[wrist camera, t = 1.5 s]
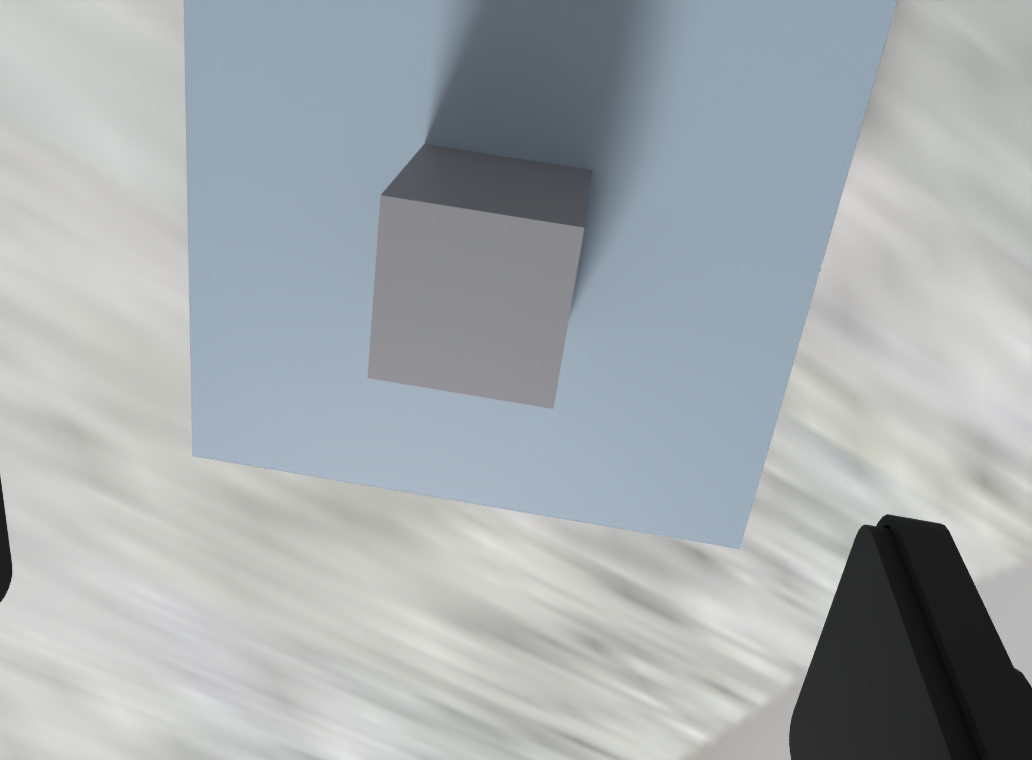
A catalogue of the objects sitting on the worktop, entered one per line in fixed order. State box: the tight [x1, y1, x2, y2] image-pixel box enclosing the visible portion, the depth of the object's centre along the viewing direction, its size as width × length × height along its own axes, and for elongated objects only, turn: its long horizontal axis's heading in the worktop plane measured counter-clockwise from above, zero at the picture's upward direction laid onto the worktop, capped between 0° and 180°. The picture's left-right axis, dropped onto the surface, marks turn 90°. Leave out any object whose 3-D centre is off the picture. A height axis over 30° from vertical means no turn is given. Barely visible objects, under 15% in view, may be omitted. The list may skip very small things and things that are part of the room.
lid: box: [184, 0, 898, 549], centre depth 20 cm, size 14×14×5 cm
